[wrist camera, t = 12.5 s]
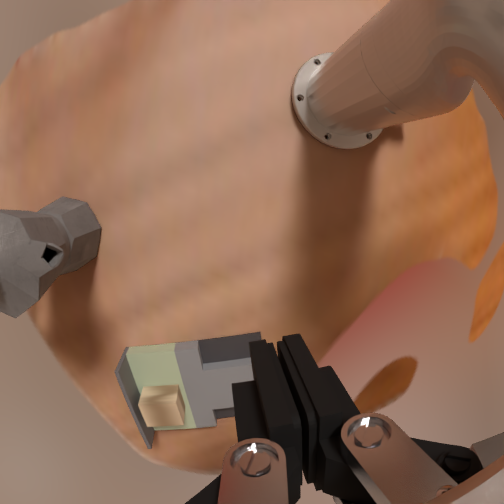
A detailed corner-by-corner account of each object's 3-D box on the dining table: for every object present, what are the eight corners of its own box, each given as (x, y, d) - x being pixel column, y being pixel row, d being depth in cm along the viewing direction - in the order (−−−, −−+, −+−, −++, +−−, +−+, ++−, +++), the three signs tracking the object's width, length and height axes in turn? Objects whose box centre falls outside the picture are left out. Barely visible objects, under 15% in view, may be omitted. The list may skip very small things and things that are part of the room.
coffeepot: (110, 185, 33) (27, 193, 16) (124, 263, 35) (59, 330, 18) (13, 209, 32) (-82, 234, 14) (27, 277, 34) (-56, 333, 16)
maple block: (178, 384, 38) (176, 403, 34) (185, 405, 39) (183, 425, 35) (143, 386, 37) (137, 405, 33) (151, 408, 38) (147, 426, 34)
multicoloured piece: (260, 331, 39) (267, 356, 34) (269, 409, 43) (276, 436, 37) (125, 347, 38) (114, 371, 32) (153, 421, 41) (148, 448, 35)
